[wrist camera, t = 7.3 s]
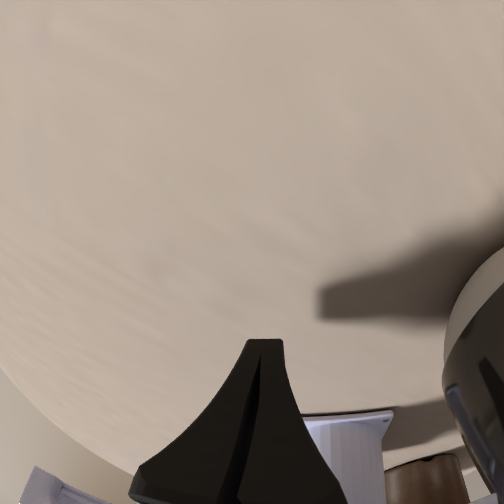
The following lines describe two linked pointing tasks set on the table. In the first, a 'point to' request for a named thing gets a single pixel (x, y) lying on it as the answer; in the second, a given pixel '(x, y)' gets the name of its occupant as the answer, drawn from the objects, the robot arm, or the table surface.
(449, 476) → the plant pot
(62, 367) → the table surface
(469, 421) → the dark grey egg shape
